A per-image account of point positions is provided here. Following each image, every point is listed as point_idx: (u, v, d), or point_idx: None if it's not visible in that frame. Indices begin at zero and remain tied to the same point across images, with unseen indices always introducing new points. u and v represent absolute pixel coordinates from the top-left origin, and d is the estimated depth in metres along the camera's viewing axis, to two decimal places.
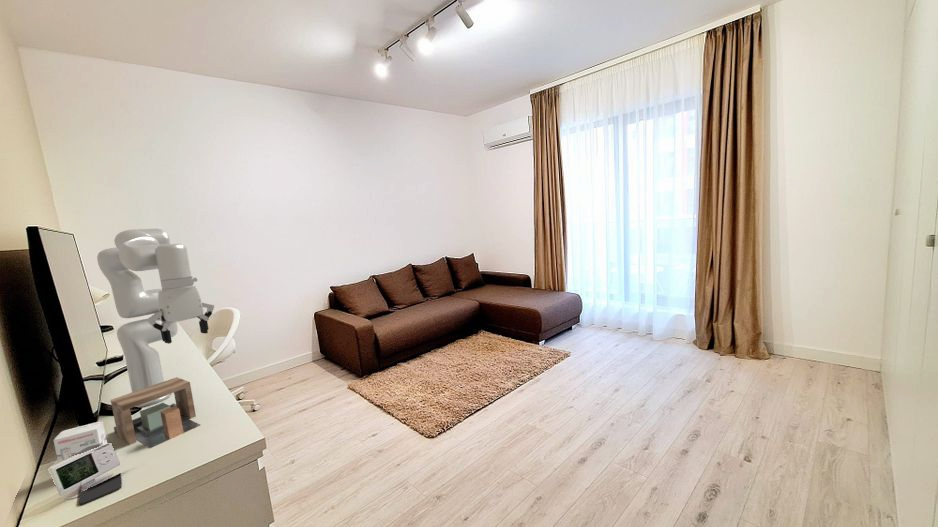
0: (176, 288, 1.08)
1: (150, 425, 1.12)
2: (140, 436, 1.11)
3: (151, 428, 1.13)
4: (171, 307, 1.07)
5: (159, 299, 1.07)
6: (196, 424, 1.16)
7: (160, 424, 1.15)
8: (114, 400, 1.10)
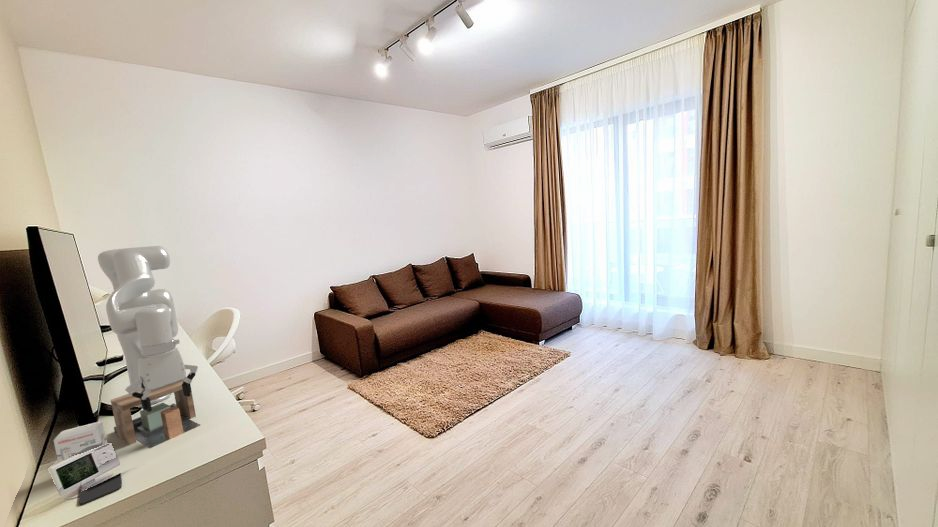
0: (156, 354, 1.04)
1: (150, 425, 1.12)
2: (140, 436, 1.11)
3: (151, 428, 1.13)
4: (151, 374, 1.04)
5: (139, 366, 1.04)
6: (196, 424, 1.16)
7: (160, 424, 1.15)
8: (114, 400, 1.10)
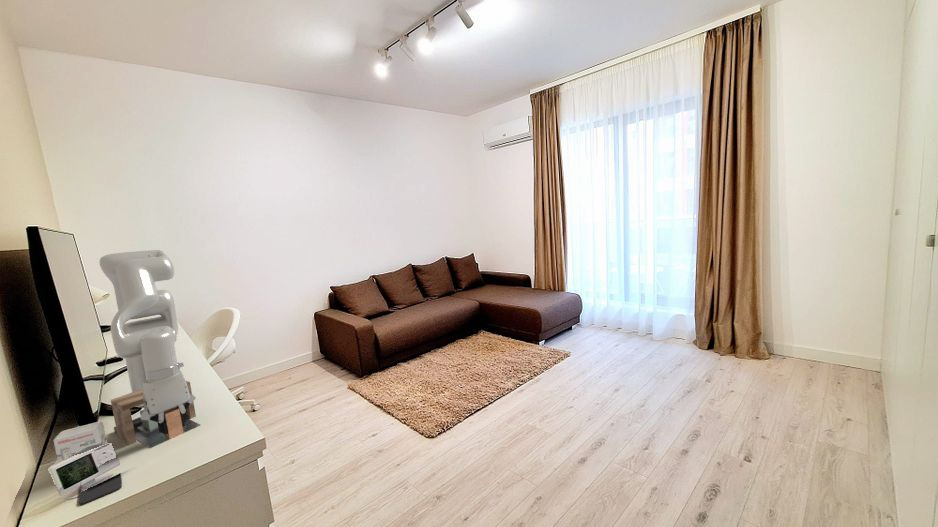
0: (161, 379, 1.05)
1: (150, 425, 1.12)
2: (140, 436, 1.11)
3: (151, 428, 1.13)
4: (155, 398, 1.05)
5: (143, 391, 1.05)
6: (196, 424, 1.16)
7: None
8: (114, 400, 1.10)
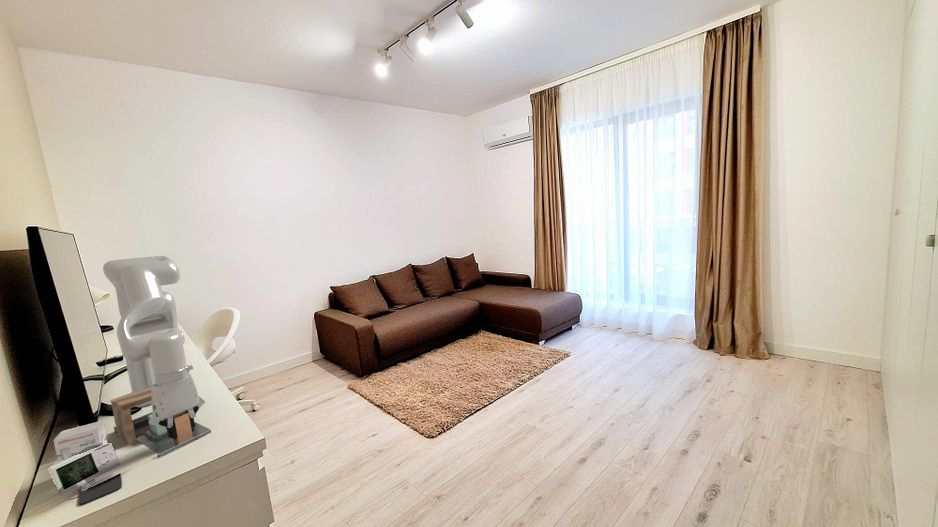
0: (170, 383, 1.02)
1: (158, 430, 1.09)
2: (148, 441, 1.08)
3: (159, 433, 1.09)
4: (164, 402, 1.02)
5: (152, 394, 1.02)
6: (205, 428, 1.13)
7: None
8: (114, 400, 1.10)
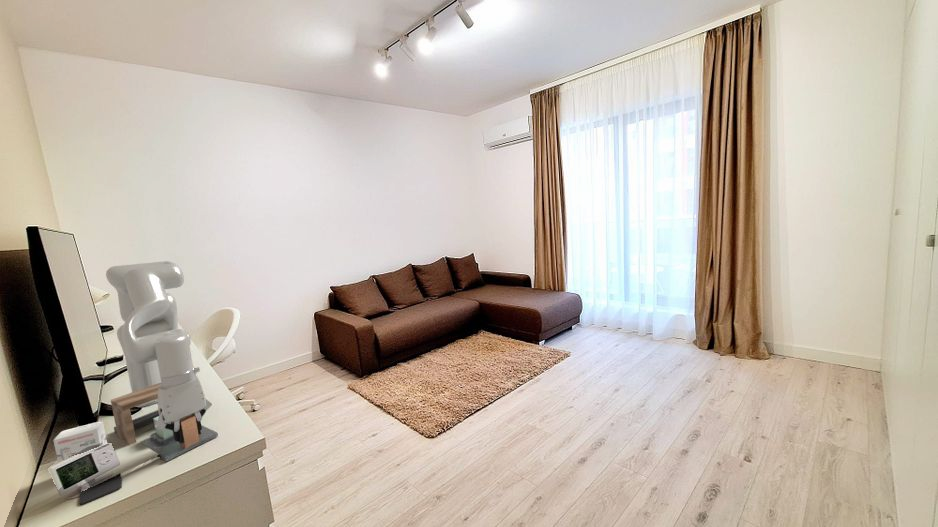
0: (177, 385, 1.00)
1: (164, 433, 1.07)
2: (154, 445, 1.06)
3: (165, 436, 1.07)
4: (171, 405, 1.00)
5: (159, 397, 0.99)
6: (212, 432, 1.10)
7: None
8: (114, 400, 1.10)
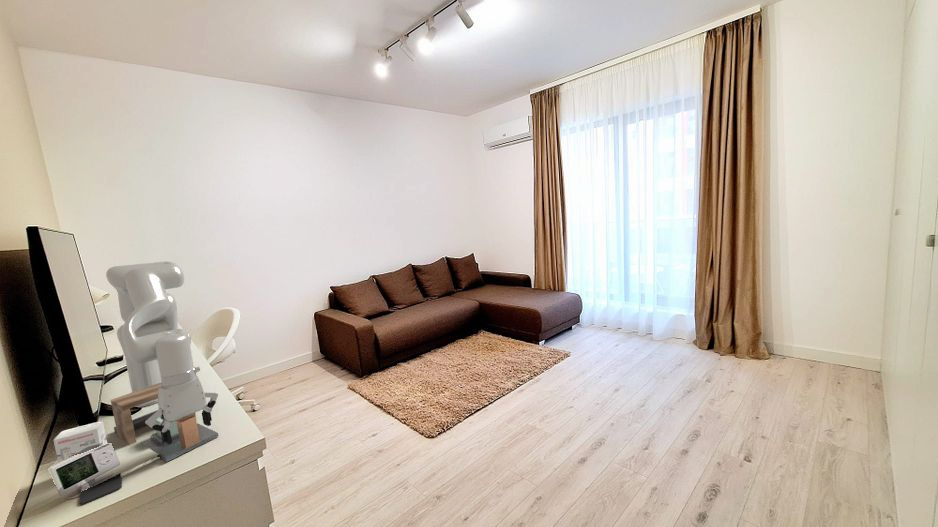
0: (177, 385, 1.00)
1: None
2: (154, 445, 1.05)
3: None
4: (171, 405, 1.00)
5: (159, 397, 0.99)
6: (213, 432, 1.10)
7: (175, 432, 1.09)
8: (114, 400, 1.10)
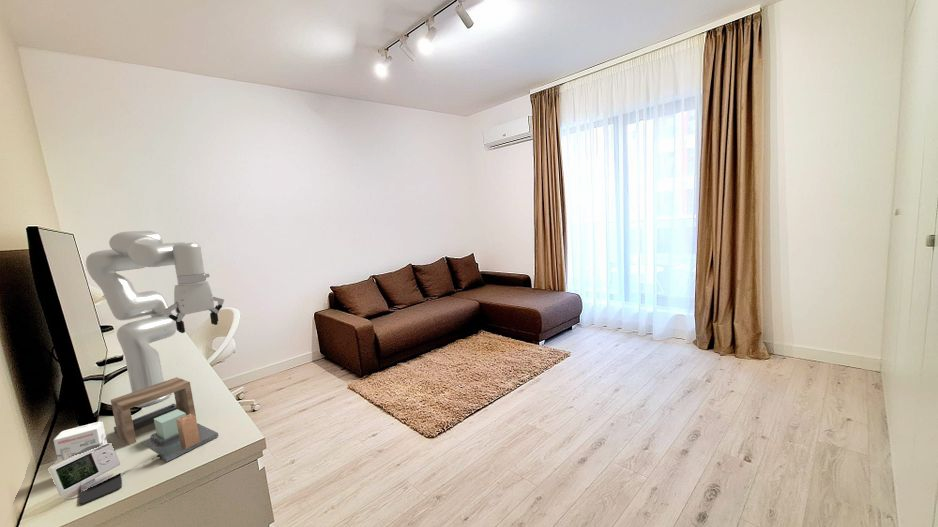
0: (190, 283, 1.19)
1: (165, 433, 1.07)
2: (154, 445, 1.05)
3: (166, 436, 1.07)
4: (185, 300, 1.19)
5: (175, 292, 1.18)
6: (213, 432, 1.10)
7: (175, 432, 1.09)
8: (114, 400, 1.10)
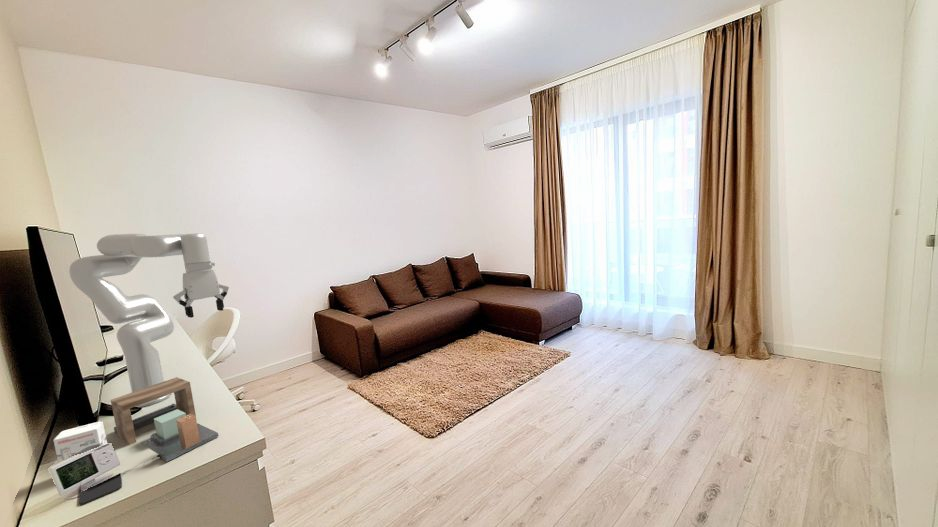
0: (198, 271, 1.27)
1: (165, 433, 1.07)
2: (154, 445, 1.05)
3: (166, 436, 1.07)
4: (193, 286, 1.27)
5: (183, 280, 1.27)
6: (213, 432, 1.10)
7: (175, 432, 1.09)
8: (114, 400, 1.10)
